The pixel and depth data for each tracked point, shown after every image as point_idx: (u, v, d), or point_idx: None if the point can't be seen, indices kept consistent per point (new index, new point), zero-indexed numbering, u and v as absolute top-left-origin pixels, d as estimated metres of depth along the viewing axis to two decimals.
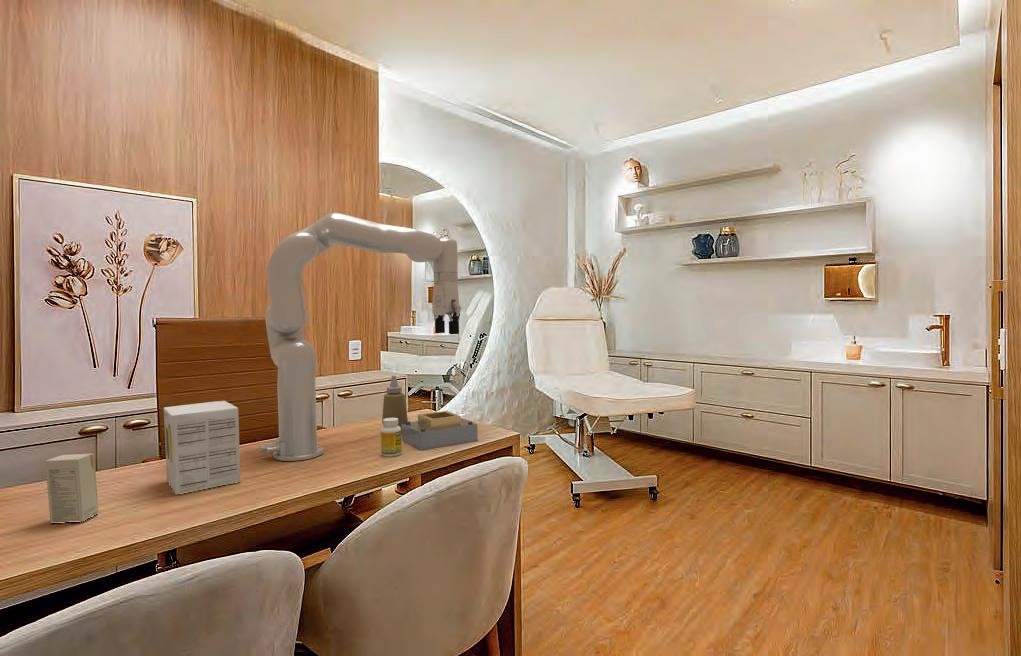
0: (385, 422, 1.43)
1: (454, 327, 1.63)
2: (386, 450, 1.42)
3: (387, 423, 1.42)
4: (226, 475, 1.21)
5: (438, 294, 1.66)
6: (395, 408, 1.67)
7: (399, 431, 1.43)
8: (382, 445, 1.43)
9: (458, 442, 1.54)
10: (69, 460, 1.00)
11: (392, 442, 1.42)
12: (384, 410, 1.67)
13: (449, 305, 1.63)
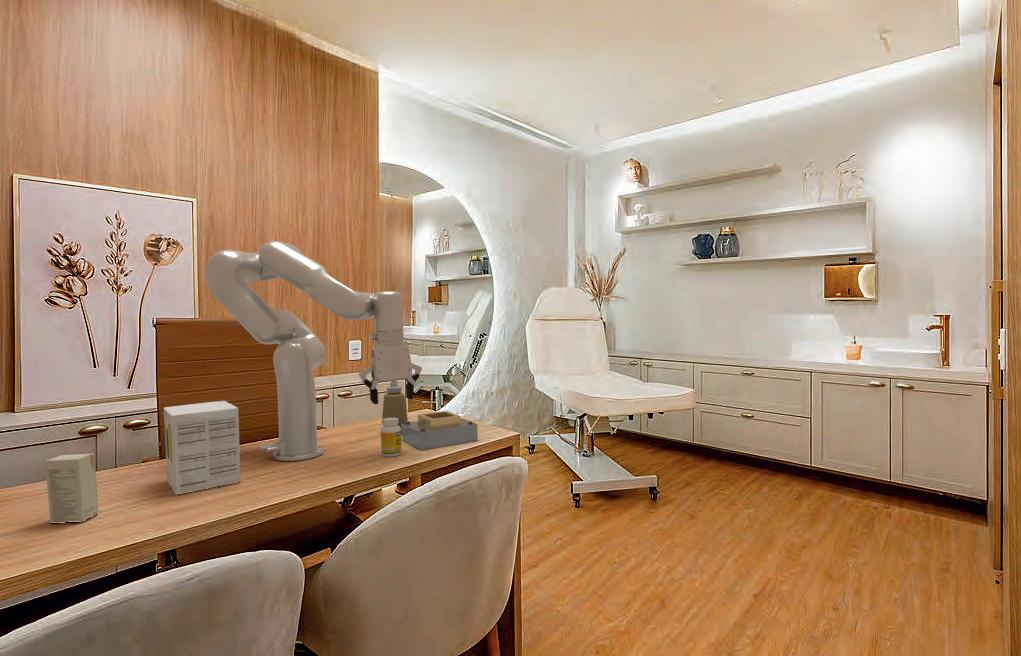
0: (385, 422, 1.43)
1: None
2: (386, 450, 1.42)
3: (387, 423, 1.42)
4: (226, 475, 1.21)
5: (395, 356, 1.41)
6: (395, 408, 1.67)
7: (399, 431, 1.43)
8: (382, 445, 1.43)
9: (458, 442, 1.54)
10: (69, 460, 1.00)
11: (392, 442, 1.42)
12: (384, 410, 1.67)
13: None
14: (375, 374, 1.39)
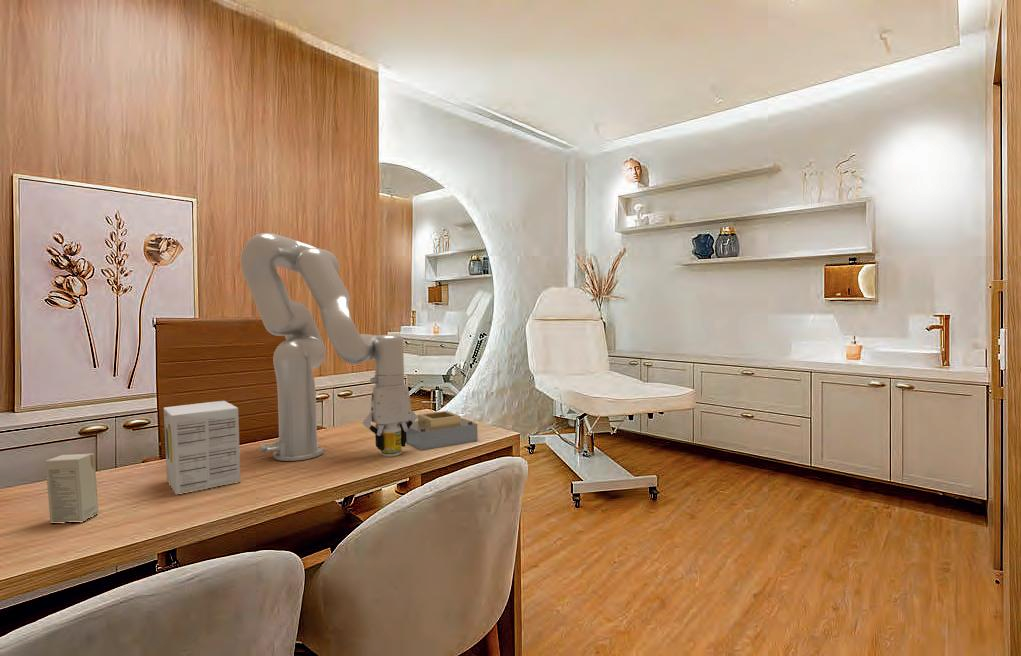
0: None
1: None
2: (386, 450, 1.42)
3: None
4: (226, 475, 1.21)
5: (395, 400, 1.42)
6: None
7: (399, 431, 1.43)
8: None
9: (458, 442, 1.54)
10: (69, 460, 1.00)
11: (392, 442, 1.42)
12: None
13: None
14: (374, 418, 1.40)
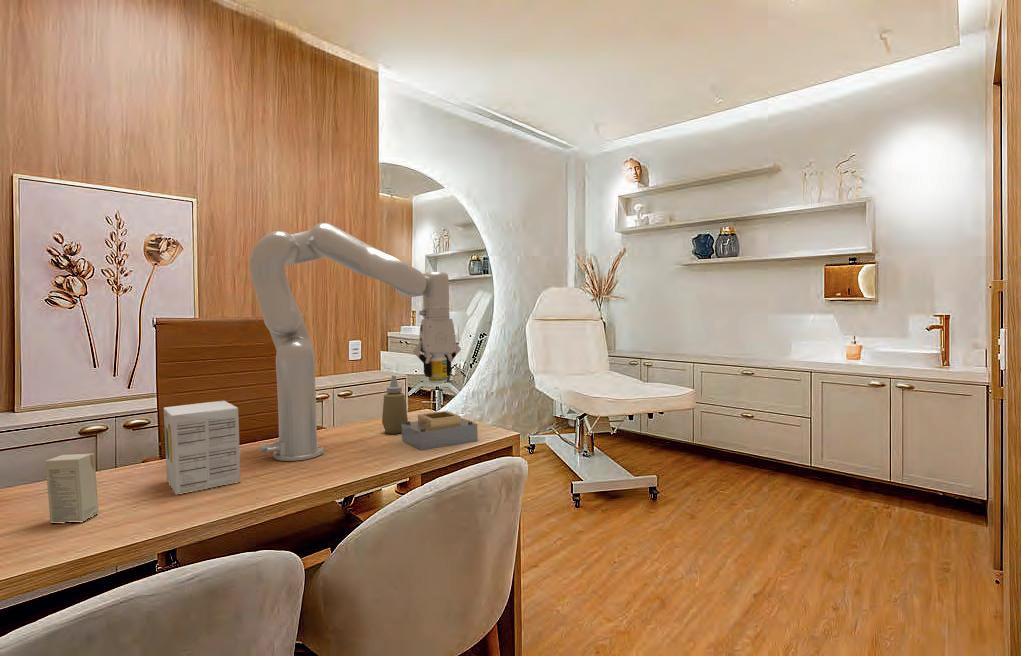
0: None
1: None
2: (433, 377, 1.55)
3: (434, 353, 1.56)
4: (226, 475, 1.21)
5: (442, 331, 1.55)
6: (395, 408, 1.67)
7: (445, 360, 1.57)
8: None
9: (458, 442, 1.54)
10: (69, 460, 1.00)
11: (439, 369, 1.55)
12: (384, 410, 1.67)
13: None
14: (424, 346, 1.53)
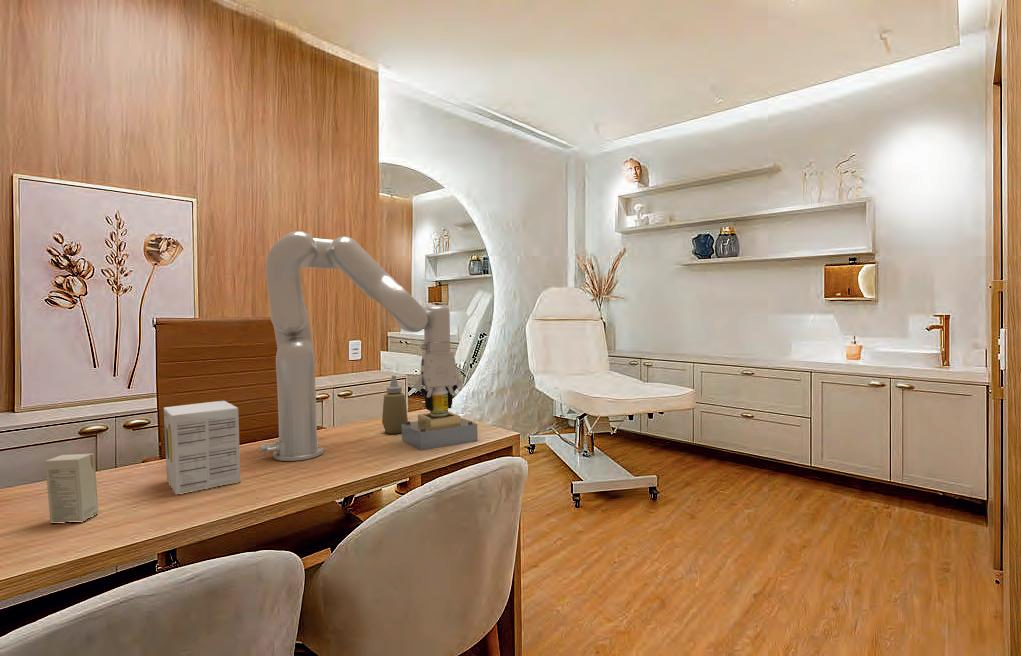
0: None
1: None
2: (435, 410, 1.56)
3: None
4: (226, 475, 1.21)
5: (443, 365, 1.56)
6: (395, 408, 1.67)
7: (446, 393, 1.57)
8: None
9: (458, 442, 1.54)
10: (69, 460, 1.00)
11: (440, 403, 1.56)
12: (384, 410, 1.67)
13: None
14: (425, 381, 1.54)
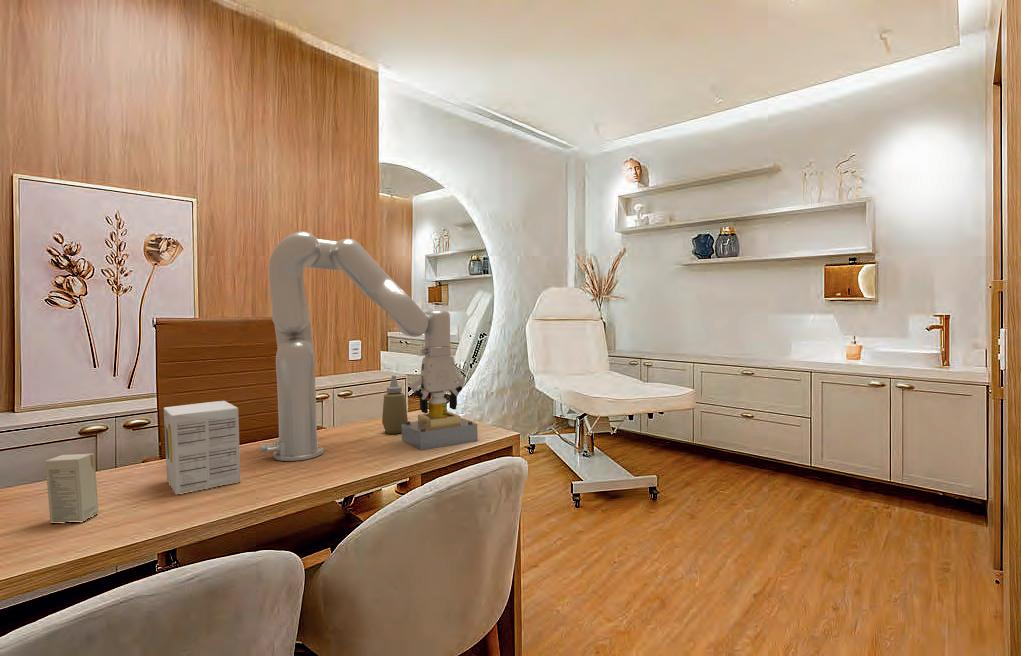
0: (433, 394, 1.56)
1: None
2: None
3: (434, 395, 1.56)
4: (226, 475, 1.21)
5: (443, 369, 1.56)
6: (395, 408, 1.67)
7: (445, 402, 1.57)
8: (430, 415, 1.57)
9: (458, 442, 1.54)
10: (69, 460, 1.00)
11: (439, 412, 1.56)
12: (384, 410, 1.67)
13: None
14: (425, 385, 1.54)
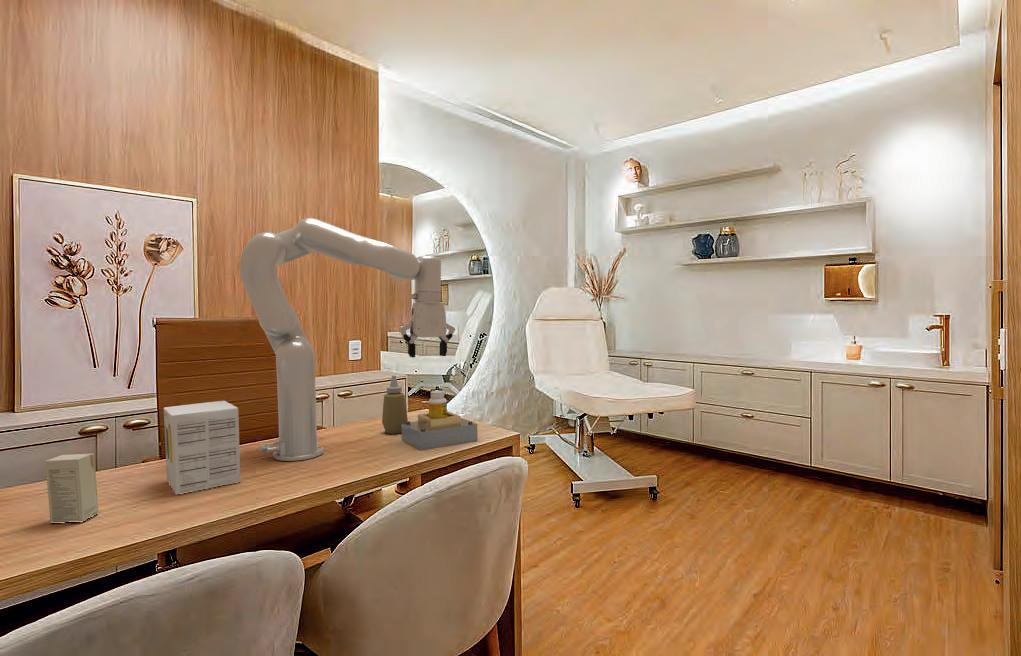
0: (433, 394, 1.56)
1: None
2: None
3: (434, 395, 1.56)
4: (226, 475, 1.21)
5: (433, 315, 1.56)
6: (395, 408, 1.67)
7: (445, 402, 1.57)
8: (430, 415, 1.57)
9: (458, 442, 1.54)
10: (69, 460, 1.00)
11: (439, 412, 1.56)
12: (384, 410, 1.67)
13: None
14: (414, 330, 1.54)
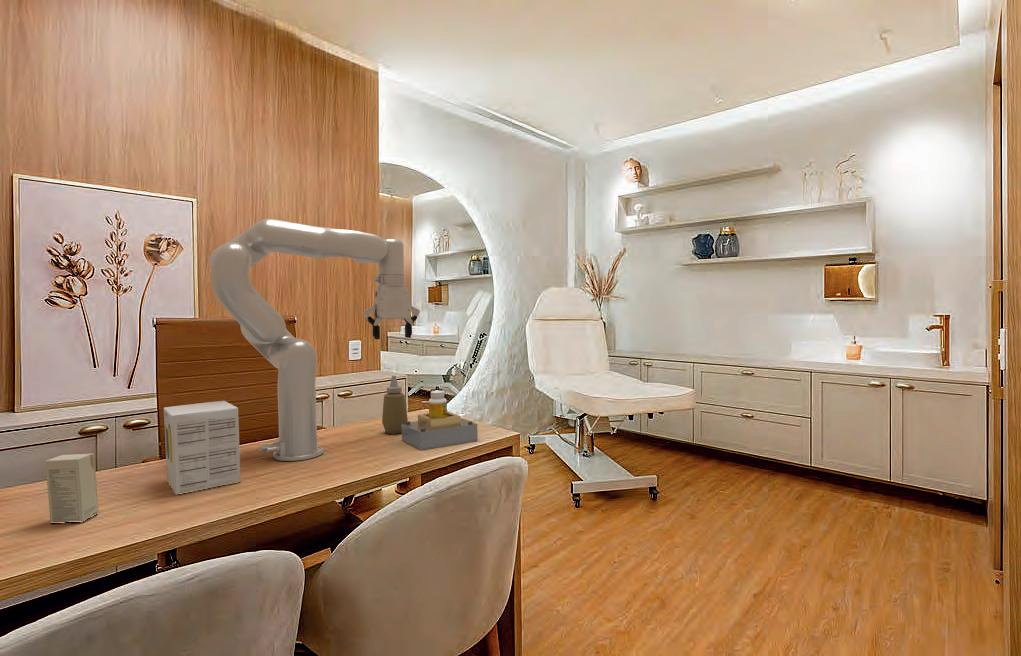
0: (433, 394, 1.56)
1: None
2: None
3: (434, 395, 1.56)
4: (226, 475, 1.21)
5: (396, 297, 1.58)
6: (395, 408, 1.67)
7: (445, 402, 1.57)
8: (430, 415, 1.57)
9: (458, 442, 1.54)
10: (69, 460, 1.00)
11: (439, 412, 1.56)
12: (384, 410, 1.67)
13: None
14: (378, 312, 1.56)
